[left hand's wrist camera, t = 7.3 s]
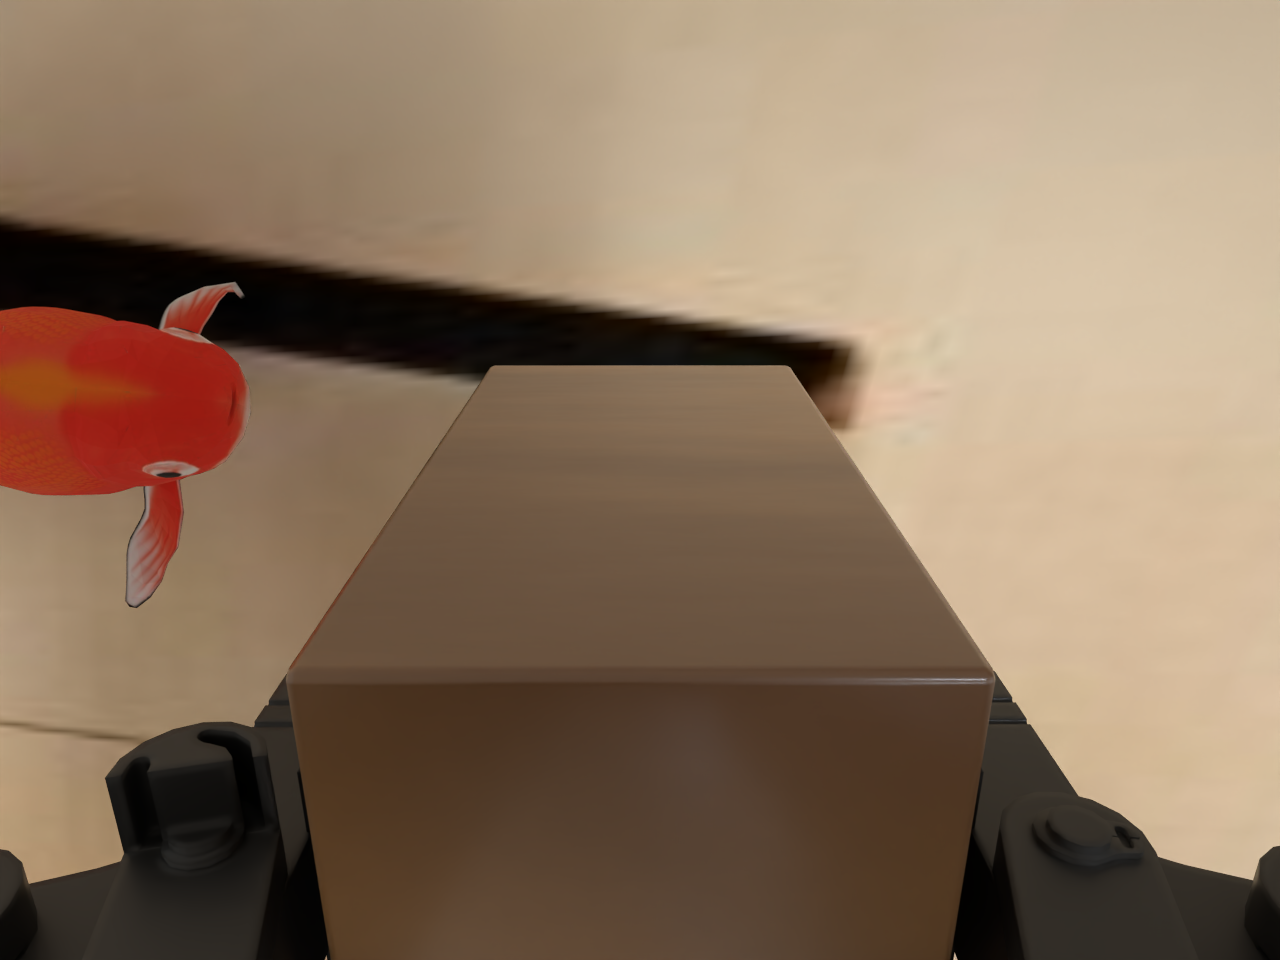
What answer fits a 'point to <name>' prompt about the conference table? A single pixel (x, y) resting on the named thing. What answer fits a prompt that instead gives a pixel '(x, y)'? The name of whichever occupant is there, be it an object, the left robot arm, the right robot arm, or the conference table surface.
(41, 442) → the fish
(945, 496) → the conference table surface
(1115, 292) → the conference table surface
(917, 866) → the bar
